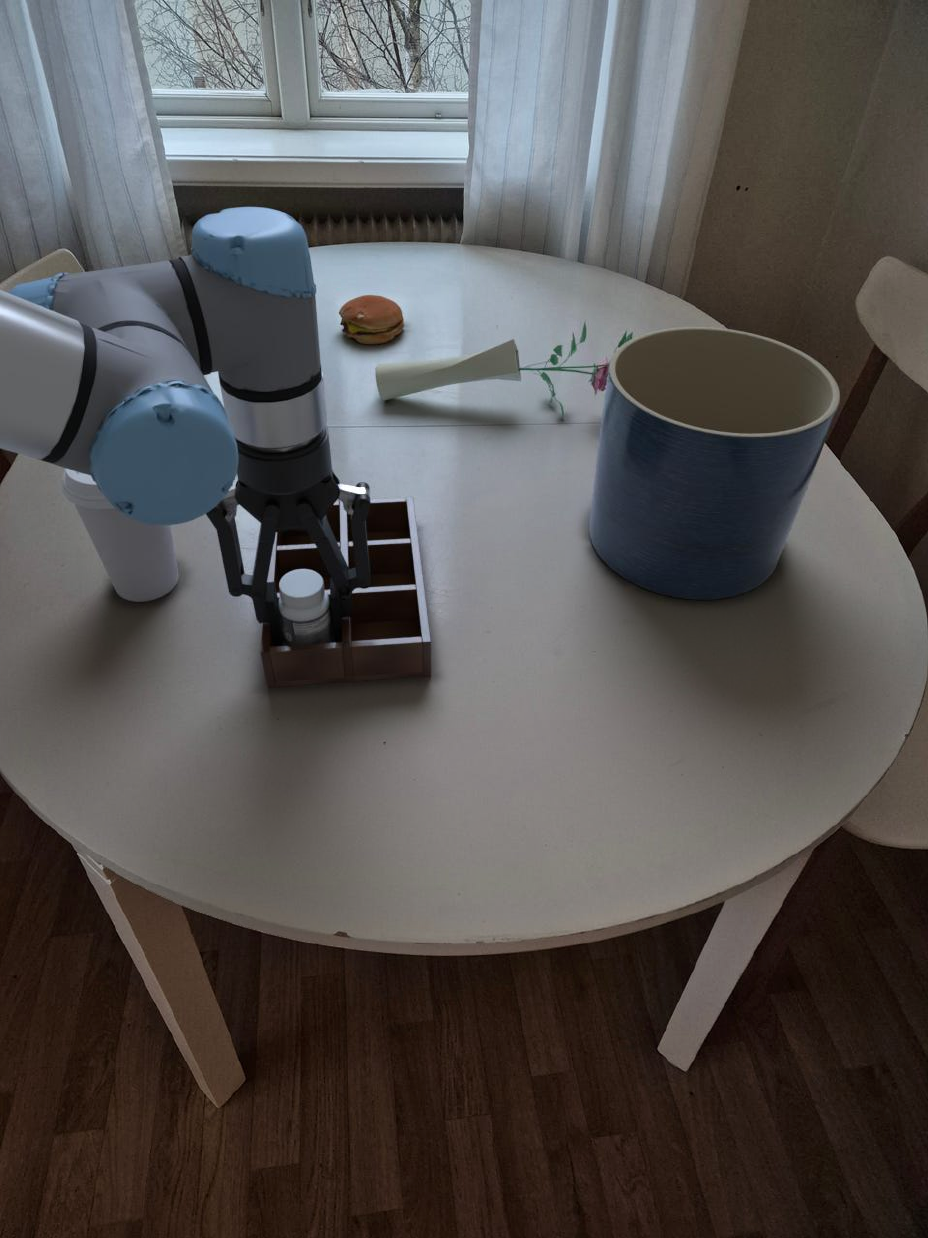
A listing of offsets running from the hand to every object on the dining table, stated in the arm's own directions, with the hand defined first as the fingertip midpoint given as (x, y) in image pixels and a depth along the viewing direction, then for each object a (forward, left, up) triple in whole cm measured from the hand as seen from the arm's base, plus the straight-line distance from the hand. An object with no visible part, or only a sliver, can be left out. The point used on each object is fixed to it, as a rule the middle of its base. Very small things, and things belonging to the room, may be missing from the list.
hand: (309, 640), depth 82 cm
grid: (+4, +7, -2) cm, 8 cm away
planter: (+42, +14, -2) cm, 44 cm away
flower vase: (+26, +45, -2) cm, 52 cm away
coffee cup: (-17, +12, -2) cm, 21 cm away
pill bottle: (0, 0, -1) cm, 1 cm away
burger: (+9, +69, -2) cm, 70 cm away
